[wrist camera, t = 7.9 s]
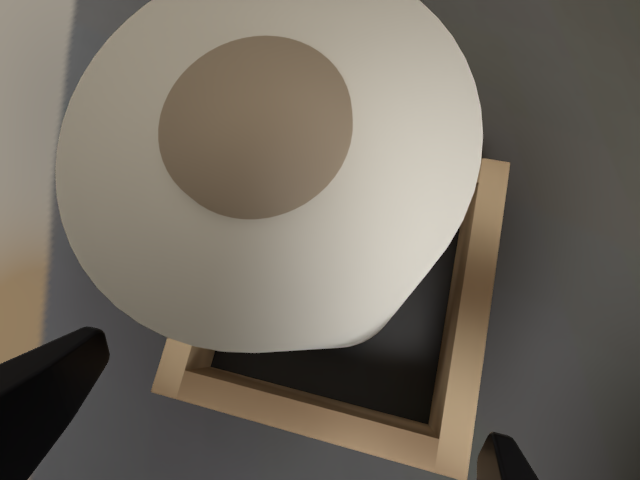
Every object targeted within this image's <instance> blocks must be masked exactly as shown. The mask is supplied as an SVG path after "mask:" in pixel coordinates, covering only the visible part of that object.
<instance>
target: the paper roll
mask: <svg viewBox="0 0 640 480" xmlns="http://www.w3.org/2000/svg"><path fill="white" fill-rule="evenodd" d="M482 143H483V128H482V114H481V106H480V102H479V97H478V93H477V88H476V84H475V81H474V79H473V76H472V73H471V71H470V68H469V66H468V63H467V61H466V59H465V57H464V55H463V53H462V52H461V50H460V48H459V46H458V45H457V43H456V41H455V40H454V38H453V36H452V35H451V34H450V33H449V31H448V30H447V29H446V28H445V26H444V25H443V24H442V23H441V21H440V20H439V19H438V18H437V17H436V16H435V15H434V14H433V13H432V12H431V11H430V10H429V9H428V8H427V7H426V6H425V5H424V4H423V3H422V2H421V1H419V0H152V1H150V2H149V3H147V4H146V5H144V6H143V7H142V8H141V9H140V10H138V11H137V12H136V13H135V14H134V15H132V16H131V17H130V18H129V19H127V20H126V21H125V22H124V23H123V24H122V25H121V26H120V27H119V28H118V29H117V30H116V31H115V32H114V33H113V34H112V35H111V37H110V38H109V39H108V40H107V41H106V43H105V44H104V45H103V46H102V48H101V49H100V50H99V51H98V53H97V54H96V55H95V56H94V58H93V59H92V61H91V63H90V64H89V66H88V67H87V69H86V70H85V72H84V74H83V75H82V77H81V79H80V81H79V83H78V85H77V87H76V89H75V91H74V93H73V95H72V97H71V99H70V102H69V105H68V108H67V111H66V113H65V116H64V119H63V122H62V126H61V131H60V136H59V140H58V145H57V155H56V167H55V178H56V196H57V201H58V206H59V212H60V217H61V221H62V224H63V227H64V230H65V233H66V235H67V238H68V241H69V244H70V246H71V248H72V250H73V252H74V253H75V255H76V257H77V259H78V261H79V263H80V265H81V267H82V268H83V269H84V271H85V272H86V273H87V275H88V276H89V277H90V279H91V280H92V282H93V283H94V284H95V286H96V287H97V288H98V289H99V290H100V291H101V292H102V293H103V294H104V295H105V296H106V297H107V298H108V299H109V300H110V301H111V302H112V303H113V304H114V305H115V306H116V307H117V308H119V309H120V310H121V311H123V312H124V313H126V314H127V315H128V316H130V317H131V318H132V319H134V320H135V321H137V322H138V323H139V324H141V325H143V326H145V327H147V328H149V329H151V330H153V331H155V332H157V333H159V334H161V335H163V336H165V337H167V338H170V339H173V340H176V341H179V342H182V343H185V344H188V345H191V346H195V347H200V348H206V349H211V350H217V351H222V352H242V353H263V352H280V351H296V350H312V349H329V348H343V347H351V346H355V345H358V344H361V343H363V342H365V341H367V340H369V339H371V338H372V337H373V336H375V335H376V334H377V333H378V332H379V331H380V330H381V329H382V328H383V327H384V326H385V325H386V324H387V322H388V321H389V320H390V319H391V318H392V316H393V315H394V314H395V313H396V311H397V310H398V309H399V308H400V306H401V305H402V304H403V303H404V302H405V300H406V299H407V298H408V297H409V295H410V294H411V293H412V292H413V290H414V289H415V288H416V287H417V286H418V284H419V283H420V282H421V281H422V279H423V278H424V277H425V276H426V274H427V273H428V272H429V271H430V269H431V268H432V267H433V266H434V264H435V263H436V262H437V260H438V259H439V258H440V256H441V255H442V254H443V253H444V251H445V250H446V249H447V247H448V246H449V244H450V242H451V241H452V239H453V237H454V235H455V234H456V232H457V230H458V228H459V227H460V225H461V223H462V221H463V220H464V217H465V214H466V212H467V209H468V207H469V204H470V202H471V199H472V197H473V194H474V191H475V187H476V183H477V178H478V174H479V170H480V165H481V156H482Z"/></svg>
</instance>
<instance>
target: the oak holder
mask: <svg viewBox="0 0 640 480" xmlns="http://www.w3.org/2000/svg"><path fill="white" fill-rule="evenodd" d="M509 168H510V162H503V161H497V160H490V159H484V158H481V165H480V170H479V174H478V178H477V183H476V187H475V191H474V194H473V197H472V199H471V202H470V204H469V207H468V209H467V212H466V214H465V217H464V220H463V221H462V223H461V225H460V230H459V237H458V243H457V249H456V255H455V261H454V268H453V274H452V280H451V286H450V293H449V299H448V305H447V311H446V318H445V324H444V330H443V336H442V342H441V349H440V355H439V361H438V367H437V374H436V380H435V386H434V392H433V399H432V405H431V411H430V417H429V423H428V424H424V423H420V422H417V421H413V420H409V419H405V418H402V417H398V416H394V415H390V414H387V413H383V412H379V411H375V410H372V409H368V408H364V407H360V406H356V405H353V404H349V403H345V402H341V401H338V400H334V399H330V398H326V397H323V396H319V395H315V394H311V393H308V392H304V391H300V390H296V389H292V388H289V387H285V386H281V385H277V384H274V383H270V382H266V381H262V380H259V379H255V378H251V377H247V376H243V375H240V374H236V373H232V372H228V371H225V370H221V369H217V368H213V367H211V364H212V360H213V357H214V353H215V350H211V349H206V348H200V347H195V346H191V345H188V344H185V343H182V342H179V341H176V340H173V339H170V338H167V341H166V344H165V347H164V350H163V354H162V357H161V360H160V363H159V367H158V370H157V373H156V376H155V380H154V383H153V386H152V389H151V392H153V393H156V394H160V395H163V396H167V397H170V398H174V399H177V400H181V401H184V402H188V403H191V404H195V405H198V406H202V407H205V408H209V409H212V410H216V411H219V412H223V413H226V414H230V415H234V416H237V417H241V418H244V419H248V420H251V421H255V422H258V423H262V424H265V425H269V426H272V427H276V428H279V429H283V430H286V431H290V432H293V433H297V434H300V435H304V436H307V437H311V438H314V439H318V440H321V441H325V442H328V443H332V444H336V445H339V446H343V447H346V448H350V449H353V450H357V451H360V452H364V453H367V454H371V455H374V456H378V457H381V458H385V459H388V460H392V461H395V462H399V463H402V464H406V465H409V466H413V467H416V468H420V469H423V470H427V471H431V472H434V473H438V474H441V475H445V476H448V477H452V478H455V479H459V480H467V476H468V468H469V461H470V454H471V446H472V439H473V432H474V424H475V417H476V410H477V402H478V395H479V388H480V381H481V373H482V366H483V359H484V351H485V344H486V337H487V329H488V322H489V315H490V307H491V300H492V293H493V285H494V278H495V271H496V263H497V256H498V249H499V241H500V234H501V227H502V220H503V212H504V205H505V198H506V190H507V183H508V176H509Z"/></svg>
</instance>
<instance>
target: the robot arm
mask: <svg viewBox="0 0 640 480" xmlns="http://www.w3.org/2000/svg"><path fill="white" fill-rule="evenodd" d="M109 356H110V353H109V349H108V345H107V341H106V337H105V334H104V332H103V331H102V330H100V329H97V328H93V327H83V328H80V329H78V330H76V331H74V332H71V333H69V334H67V335H65V336H62V337H60V338H58V339H56V340H53V341H51V342H49V343H46V344H44V345H42V346H40V347H37V348H35V349H33V350H31V351H28V352H27V353H24V354H22V355H19V356H17V357H15V358H13V359H10V360H8V361H6V362H4V363H1V364H0V480H27V479H28V478H29V477H30V475H31V474H32V473H33V471H34V470H35V469H36V468H37V466H38V465H39V464H40V462H41V461H42V460H43V458H44V457H45V456H46V454H47V453H48V452H49V450H50V449H51V448H52V446H53V445H54V444H55V442H56V441H57V440H58V438H59V437H60V436H61V434H62V433H63V432H64V430H65V429H66V428H67V426H68V425H69V423H70V422H71V421H72V419H73V418H74V416H75V415H76V413H77V412H78V410H79V408H80V407H81V405H82V404H83V402H84V400H85V399H86V397H87V395H88V394H89V392H90V391H91V389H92V387H93V386H94V384H95V383H96V381H97V379H98V378H99V376H100V375H101V373H102V371H103V370H104V368H105V366H106V365H107V363H108V360H109ZM477 480H539V479H538V478H537V476H536V474H535V473H534V471H533V470H532V468H531V466H530V465H529V463H528V462H527V460H526V458H525V457H524V455H523V453H522V452H521V450H520V449H519V447H518V445H517V444H516V442H515V441H514V439H513V438H511V437H510V436H508V435H504V434H500V433H496V432H491V433H490V434H489V435H488V437H487V439H486V441H485V443H484V445H483V447H482V449H481V451H480V453H479V456H478V461H477Z"/></svg>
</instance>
